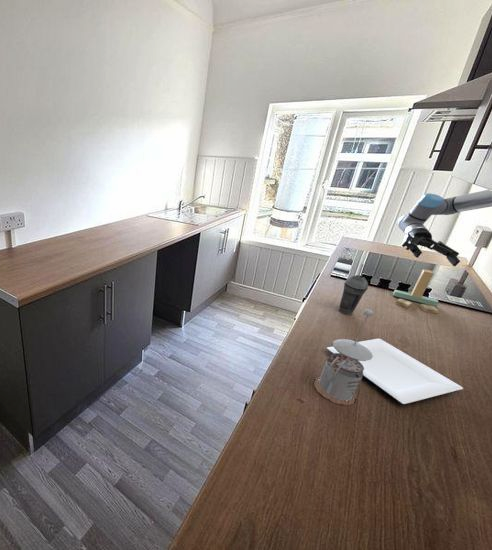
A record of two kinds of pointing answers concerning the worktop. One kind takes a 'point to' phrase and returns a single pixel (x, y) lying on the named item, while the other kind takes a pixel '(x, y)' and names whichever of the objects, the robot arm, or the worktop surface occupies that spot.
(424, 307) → the crust
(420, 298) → the wiper
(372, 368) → the plate
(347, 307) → the beverage cup
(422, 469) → the worktop surface
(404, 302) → the crust
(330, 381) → the french press
